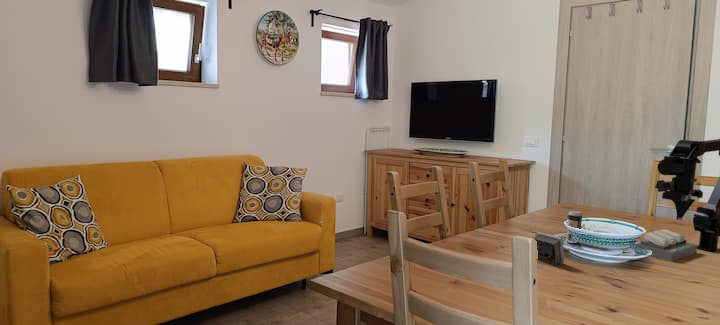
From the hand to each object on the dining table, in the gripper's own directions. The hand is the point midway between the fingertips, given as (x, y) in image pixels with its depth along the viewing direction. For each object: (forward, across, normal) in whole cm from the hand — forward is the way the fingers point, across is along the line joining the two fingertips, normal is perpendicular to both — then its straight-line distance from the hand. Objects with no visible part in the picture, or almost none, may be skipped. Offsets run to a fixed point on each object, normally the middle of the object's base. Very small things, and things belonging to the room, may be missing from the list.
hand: (679, 217), depth 174 cm
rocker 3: (+8, -1, -2) cm, 8 cm away
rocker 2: (+8, +5, -2) cm, 9 cm away
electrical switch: (+13, +54, -16) cm, 58 cm away
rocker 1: (+8, +11, -2) cm, 13 cm away
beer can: (+13, +25, -26) cm, 38 cm away
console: (+13, +5, -1) cm, 14 cm away
